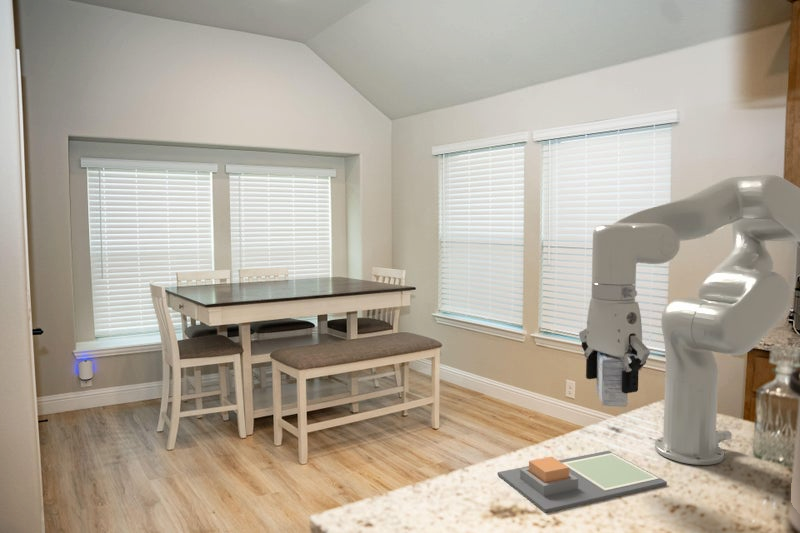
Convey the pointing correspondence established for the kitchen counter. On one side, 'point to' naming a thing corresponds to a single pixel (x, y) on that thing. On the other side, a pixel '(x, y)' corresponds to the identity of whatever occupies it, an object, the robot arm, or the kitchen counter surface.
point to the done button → (548, 469)
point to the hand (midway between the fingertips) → (610, 384)
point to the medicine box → (610, 380)
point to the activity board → (583, 481)
